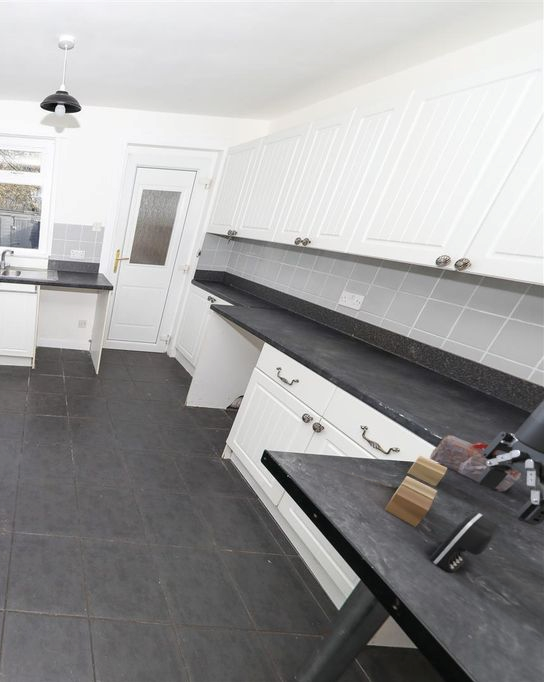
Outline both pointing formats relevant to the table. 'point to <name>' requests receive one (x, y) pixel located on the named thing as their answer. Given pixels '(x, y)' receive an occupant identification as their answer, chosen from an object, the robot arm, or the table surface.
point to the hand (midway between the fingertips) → (503, 502)
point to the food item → (468, 460)
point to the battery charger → (465, 541)
